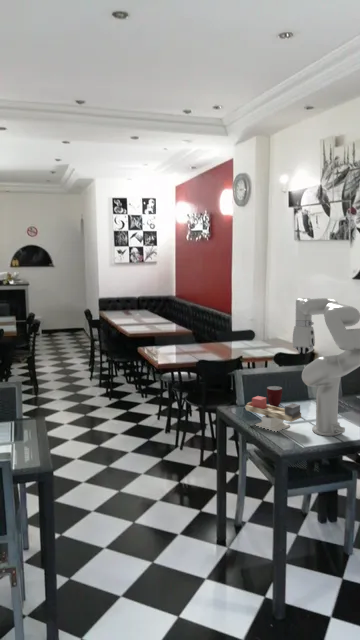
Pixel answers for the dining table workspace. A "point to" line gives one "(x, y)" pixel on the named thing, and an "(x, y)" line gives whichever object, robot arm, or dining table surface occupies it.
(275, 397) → the mug
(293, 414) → the beam
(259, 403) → the block
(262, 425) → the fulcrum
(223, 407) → the dining table surface
